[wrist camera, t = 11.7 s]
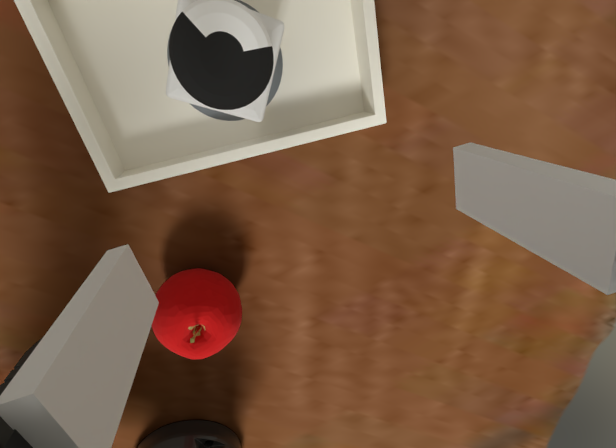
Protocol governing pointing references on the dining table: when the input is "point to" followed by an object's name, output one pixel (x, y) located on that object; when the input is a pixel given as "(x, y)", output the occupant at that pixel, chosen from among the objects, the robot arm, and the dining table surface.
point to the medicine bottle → (223, 57)
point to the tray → (191, 118)
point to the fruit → (197, 313)
